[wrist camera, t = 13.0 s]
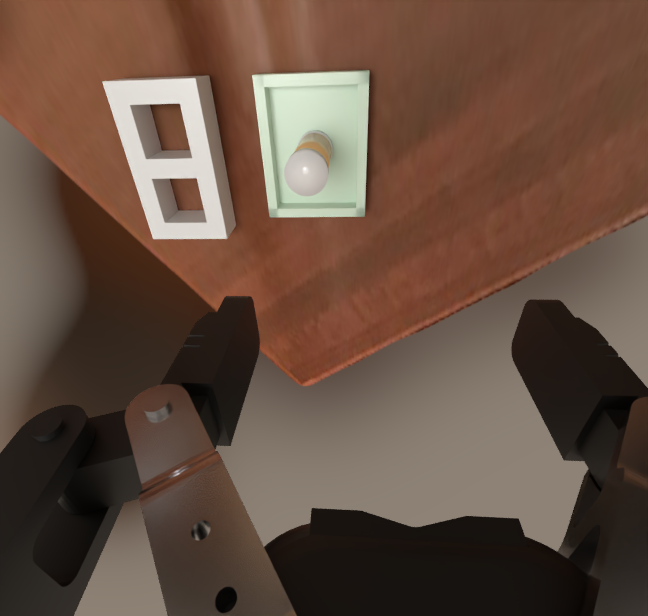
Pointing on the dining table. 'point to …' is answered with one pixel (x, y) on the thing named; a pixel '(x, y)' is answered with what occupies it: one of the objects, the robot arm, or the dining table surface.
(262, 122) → the parts tray
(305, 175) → the fuse
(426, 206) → the dining table surface
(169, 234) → the frame
